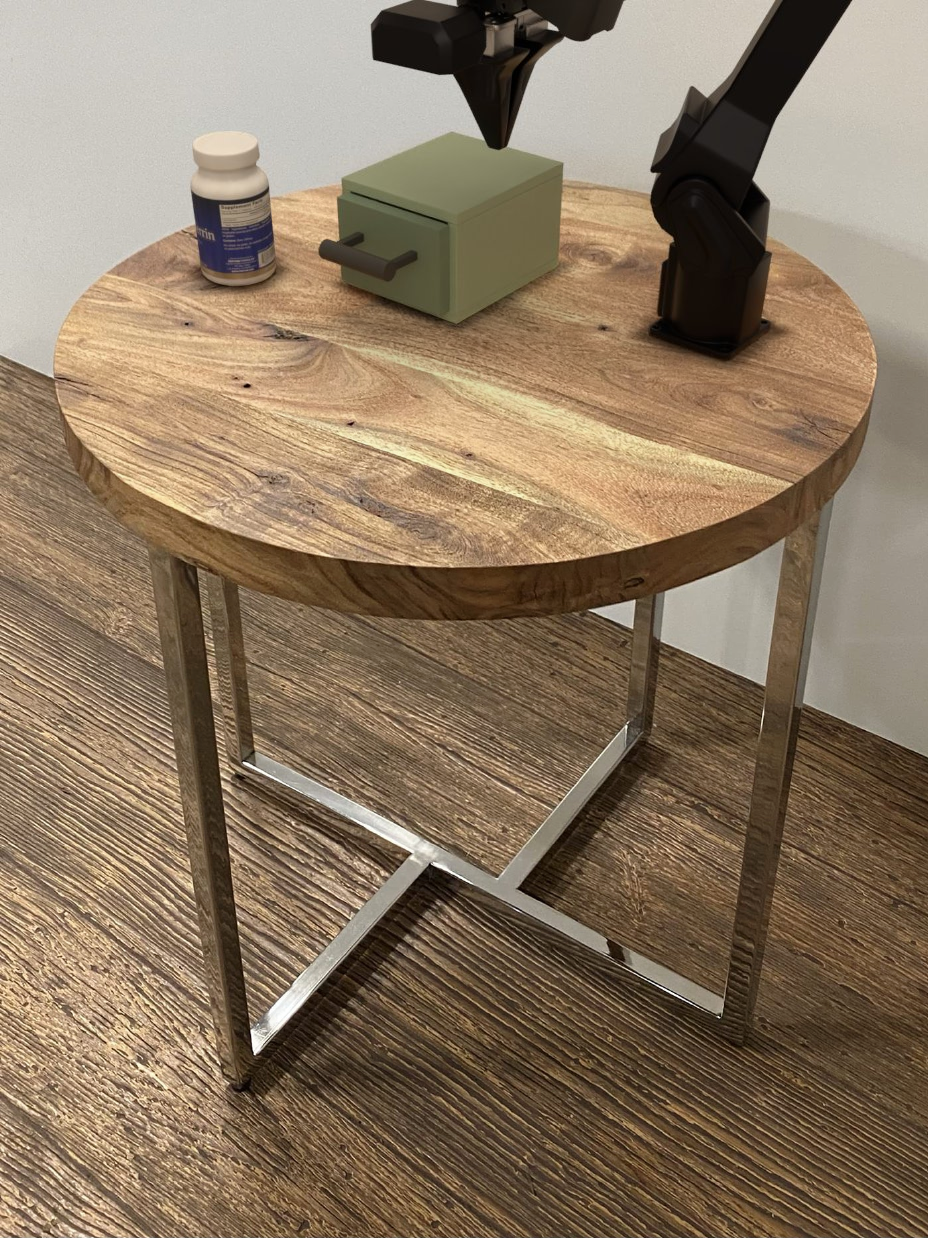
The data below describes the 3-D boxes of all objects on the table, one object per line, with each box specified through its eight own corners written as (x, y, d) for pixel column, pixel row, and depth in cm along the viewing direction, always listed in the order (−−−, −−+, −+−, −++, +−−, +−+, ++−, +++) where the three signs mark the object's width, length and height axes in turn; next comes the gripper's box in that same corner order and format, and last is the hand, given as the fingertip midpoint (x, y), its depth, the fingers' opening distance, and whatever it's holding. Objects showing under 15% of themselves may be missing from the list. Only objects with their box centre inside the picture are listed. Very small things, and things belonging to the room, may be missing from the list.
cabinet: (456, 324, 93) (456, 214, 88) (346, 283, 98) (341, 177, 93) (558, 266, 101) (563, 162, 96) (451, 231, 106) (451, 131, 101)
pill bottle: (193, 263, 101) (176, 133, 95) (264, 252, 103) (252, 123, 96) (212, 293, 97) (196, 159, 91) (286, 281, 99) (275, 148, 92)
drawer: (403, 336, 90) (401, 248, 86) (304, 298, 94) (298, 213, 90) (534, 263, 99) (538, 181, 95) (439, 231, 104) (438, 152, 100)
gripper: (519, -70, 68) (514, 219, 78) (696, -125, 80) (672, 134, 90) (358, -95, 74) (372, 179, 83) (546, -143, 85) (539, 103, 95)
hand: (497, 147), depth 88 cm, fingers closed
